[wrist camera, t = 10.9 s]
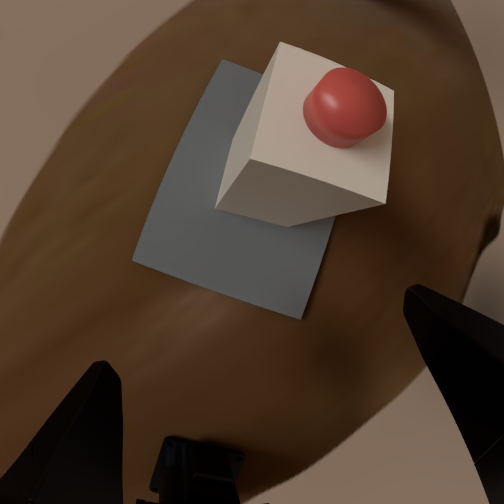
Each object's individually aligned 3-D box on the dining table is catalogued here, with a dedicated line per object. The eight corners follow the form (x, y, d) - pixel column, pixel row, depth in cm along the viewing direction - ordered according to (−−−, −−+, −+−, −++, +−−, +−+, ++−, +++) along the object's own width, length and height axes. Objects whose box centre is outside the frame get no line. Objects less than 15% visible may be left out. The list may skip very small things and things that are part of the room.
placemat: (297, 317, 22) (300, 319, 21) (133, 260, 19) (131, 260, 19) (357, 126, 23) (361, 123, 22) (221, 63, 21) (222, 59, 20)
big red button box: (287, 227, 21) (412, 197, 9) (214, 208, 20) (262, 142, 8) (301, 159, 21) (415, 76, 9) (232, 138, 20) (293, 18, 8)
